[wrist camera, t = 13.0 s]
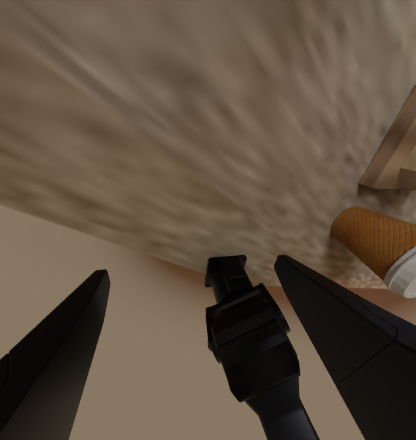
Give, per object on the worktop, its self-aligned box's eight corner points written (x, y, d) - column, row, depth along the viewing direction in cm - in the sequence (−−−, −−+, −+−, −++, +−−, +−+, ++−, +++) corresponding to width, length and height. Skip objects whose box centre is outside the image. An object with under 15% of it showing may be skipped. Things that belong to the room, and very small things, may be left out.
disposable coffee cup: (314, 227, 29) (394, 287, 19) (364, 185, 27) (486, 228, 17) (333, 250, 34) (405, 307, 24) (377, 216, 31) (477, 264, 21)
